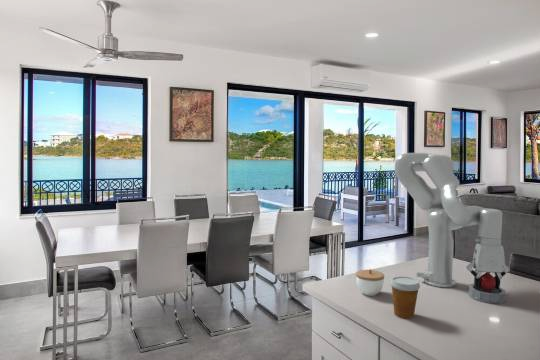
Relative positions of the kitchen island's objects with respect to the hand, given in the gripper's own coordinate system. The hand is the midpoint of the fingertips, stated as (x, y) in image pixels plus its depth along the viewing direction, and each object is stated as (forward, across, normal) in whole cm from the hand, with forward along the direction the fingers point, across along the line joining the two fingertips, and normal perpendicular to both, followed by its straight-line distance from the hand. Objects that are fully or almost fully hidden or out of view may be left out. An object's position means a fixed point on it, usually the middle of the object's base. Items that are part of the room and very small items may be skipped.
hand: (486, 287), depth 151 cm
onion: (+2, 0, 0) cm, 2 cm away
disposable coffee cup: (+4, -36, -19) cm, 41 cm away
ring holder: (+4, 0, 0) cm, 4 cm away
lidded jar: (+4, -44, +1) cm, 44 cm away
